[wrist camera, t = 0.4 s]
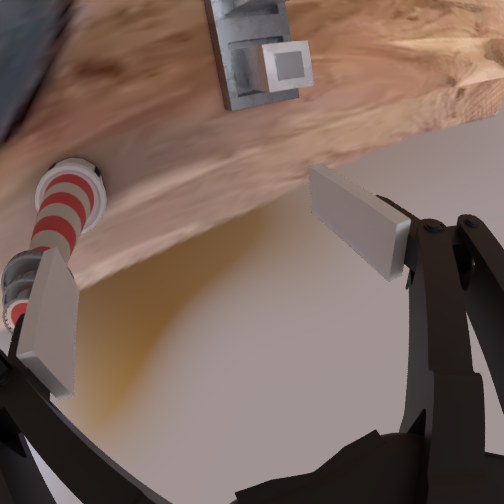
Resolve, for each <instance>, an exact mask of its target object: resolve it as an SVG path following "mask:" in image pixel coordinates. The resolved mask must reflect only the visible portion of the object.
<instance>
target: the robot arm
mask: <svg viewBox="0 0 504 504" xmlns="http://www.w3.org/2000/svg"><path fill="white" fill-rule="evenodd" d="M309 179H310V195H311V213H312V214H313V215H315V216H316V217H317V218H318V219H319V220H320V221H322V222H323V223H324V224H325V225H326V226H327V227H329V228H330V229H331V230H332V231H333V232H334V233H335V234H336V235H338V236H339V237H340V238H341V239H342V240H343V241H344V242H345V243H347V244H348V245H349V246H350V247H351V248H352V249H353V250H354V251H356V252H357V253H358V254H359V255H360V256H361V257H362V258H363V259H364V260H365V261H366V262H368V263H369V264H370V265H371V266H372V267H373V268H374V269H375V270H376V271H377V272H378V273H380V274H381V275H382V276H383V277H384V278H385V279H386V280H387V281H388V282H389V281H391V280H393V279H396V278H398V277H400V276H402V272H403V266H404V264H405V265H406V266H407V267H409V268H410V270H409V275H408V280H407V284H406V289H408V287H409V358H408V376H407V377H408V378H407V390H406V401H405V411H404V416H403V420H402V423H401V426H400V430H399V433H390V434H384V435H379V433H378V432H377V430H374V431H372V432H370V433H369V434H367V435H365V436H364V437H362V438H360V439H358V440H356V441H354V442H353V443H351V444H349V445H347V446H345V447H344V448H342V449H341V450H340V451H339V452H338V453H337V454H335V455H334V456H333V457H332V458H331V459H329V460H328V461H327V462H326V463H325V464H323V465H322V466H321V467H320V468H318V469H317V470H316V471H314V472H312V473H308V474H303V475H297V476H292V477H286V478H280V479H273V480H269V481H267V482H264V483H261V484H259V485H256V486H253V487H250V488H247V489H244V490H241V491H238V492H235V495H236V497H237V499H236V500H235V501H233V502H232V503H230V504H504V456H503V455H498V454H493V453H488V452H485V408H484V389H483V381H482V376H481V375H480V373H475V372H474V371H473V366H472V355H471V346H470V338H469V330H468V323H467V317H466V312H467V315H468V317H469V319H470V322H471V324H472V326H473V329H474V331H475V334H476V336H477V339H478V341H479V344H480V346H481V349H482V352H483V354H484V357H485V360H486V362H487V365H488V368H489V371H490V373H491V377H492V380H493V383H494V386H495V389H496V392H497V395H498V399H499V402H500V405H501V408H502V411H503V414H504V249H503V248H502V246H501V245H500V243H499V242H498V241H497V239H496V238H495V237H494V236H493V234H492V233H491V232H490V230H489V229H488V228H487V226H486V225H485V224H484V223H483V222H482V221H481V220H480V219H479V218H477V217H476V216H472V215H470V214H469V215H467V214H465V215H460V216H459V217H458V221H457V226H449V227H446V226H445V225H444V224H443V223H442V222H440V221H438V220H435V219H423V220H420V219H418V218H417V217H415V216H414V215H412V214H411V213H409V212H407V211H406V210H405V209H403V208H401V207H400V206H399V205H397V204H395V203H394V202H392V201H391V200H389V199H388V198H385V197H382V196H379V195H376V196H375V195H373V194H372V193H370V192H368V191H367V190H365V189H364V188H362V187H360V186H359V185H357V184H355V183H354V182H352V181H350V180H349V179H347V178H345V177H344V176H342V175H340V174H339V173H337V172H335V171H334V170H332V169H330V168H328V167H327V166H325V165H323V164H317V165H313V166H309ZM474 262H475V265H474ZM78 300H79V288H78V286H77V284H76V282H75V281H74V279H73V277H72V275H71V273H70V271H69V270H68V268H67V266H66V264H65V262H64V260H63V258H62V256H61V254H60V252H59V250H58V248H57V246H56V247H54V248H51V249H49V250H46V251H44V253H43V255H42V258H41V261H40V264H39V267H38V271H37V274H36V277H35V280H34V283H33V287H32V290H31V294H30V297H29V301H28V305H27V308H26V312H25V313H23V314H21V315H20V317H19V318H18V320H17V322H16V323H15V327H14V331H13V335H12V339H11V341H12V342H11V344H10V348H9V353H8V357H7V356H6V355H5V354H4V352H3V351H2V350H1V349H0V504H56V502H55V500H54V498H53V496H52V494H51V493H50V491H49V489H48V487H47V485H46V483H45V481H44V479H43V477H42V475H41V473H40V471H39V469H38V467H37V465H36V462H35V460H34V458H33V456H32V454H31V451H30V449H29V447H28V444H27V442H26V439H25V437H26V438H27V439H28V441H29V442H30V444H31V445H32V446H33V448H34V449H35V450H36V451H37V453H38V454H39V455H40V456H41V458H42V459H43V460H44V461H45V462H46V464H47V465H48V466H49V467H50V468H51V470H52V471H53V472H54V473H55V474H56V475H57V476H58V477H59V479H60V480H61V481H62V482H63V483H64V484H65V485H66V486H67V487H68V488H69V489H70V491H71V492H72V493H73V494H74V495H75V496H76V497H77V498H78V499H79V500H80V501H81V502H82V503H84V504H172V503H170V502H169V501H167V500H166V499H164V498H163V497H161V496H160V495H158V494H157V493H155V492H154V491H153V490H151V489H150V488H148V487H147V486H146V485H144V484H143V483H141V482H140V481H139V480H137V479H136V478H135V477H133V476H132V475H131V474H130V473H128V472H127V471H126V470H124V469H123V468H122V467H121V466H119V465H118V464H117V463H115V461H113V460H112V459H111V458H110V457H108V456H107V455H106V454H105V453H104V452H103V451H102V450H100V449H99V448H98V447H97V446H96V445H95V444H94V443H93V442H91V441H90V440H89V439H88V438H87V437H86V436H85V435H84V434H83V433H82V432H80V431H79V429H77V428H76V427H75V426H74V425H73V424H72V423H71V422H70V421H69V420H68V419H67V418H66V417H65V416H64V415H63V414H62V412H61V411H59V409H58V408H57V407H56V406H55V405H54V404H53V403H52V402H51V401H50V392H51V393H52V394H53V395H54V396H55V397H56V398H57V399H58V400H61V399H65V398H69V397H73V396H74V357H75V336H76V322H77V310H78ZM24 436H25V437H24Z"/></svg>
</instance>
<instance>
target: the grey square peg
mask: <svg viewBox="0 0 504 504" xmlns="http://www.w3.org/2000/svg"><path fill="white" fill-rule="evenodd" d="M221 1H222V6H223V11H224V14H231V13H239V12H248V11H259V10H264V9H267V8H269V7H272V6H275V5H278V4H280V3H283V2H286V1H289V0H221Z"/></svg>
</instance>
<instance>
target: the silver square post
mask: <svg viewBox="0 0 504 504" xmlns="http://www.w3.org/2000/svg"><path fill="white" fill-rule="evenodd" d="M231 53H232V58H233V63H234V69H235V74H236V79H237V85H238V87H240V88H247V89H253V90H258V91H264V92H276V91H282V90H288V89H294V88H300V87H307V86H314V83H313V75H312V67H311V59H310V52H309V45H308V40H307V41H294V42H283V43H273V44H265V45H258V46H252V47H246V48H241V49H236V50H231Z"/></svg>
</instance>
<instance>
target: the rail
mask: <svg viewBox="0 0 504 504" xmlns="http://www.w3.org/2000/svg"><path fill="white" fill-rule="evenodd" d="M204 4H205V9H206V14H207V19H208V24H209V29H210V34H211V39H212V44H213V49H214V54H215V59H216V64H217V69H218V74H219V79H220V84H221V89H222V94H223V100H224V105H225V109H228V110H230V111H235V110H239V109H244V108H248V107H253V106H258V105H263V104H268V103H273V102H278V101H283V100H289V99H295V98H299V92H298V88H294V89H288V90H282V91H276V92H264V91H258V90H253V89H247V88H240V87H238V85H237V79H236V74H235V69H234V63H233V58H232V53H231V50H236V49H241V48H246V47H252V46H258V45H265V44H273V43H283V42H291V37H290V31H289V25H288V19H287V13H286V7H285V2H283V3H280V4H278V5H275V6H272V7H269V8H267V9H264V10H259V11H248V12H239V13H231V14H224V11H223V6H222V1H221V0H204Z"/></svg>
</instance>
